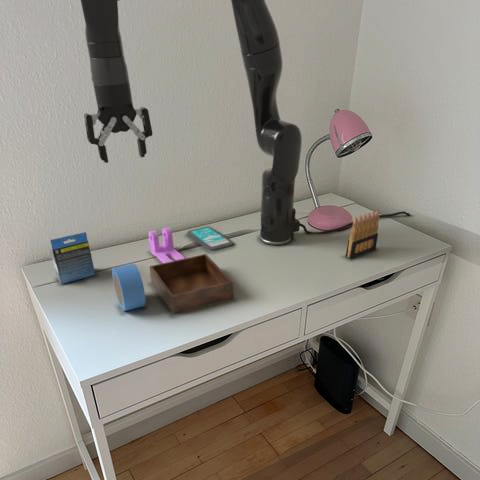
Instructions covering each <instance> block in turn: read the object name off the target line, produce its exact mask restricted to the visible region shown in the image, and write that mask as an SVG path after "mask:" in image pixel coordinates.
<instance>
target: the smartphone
mask: <svg viewBox="0 0 480 480" xmlns="http://www.w3.org/2000/svg"><path fill="white" fill-rule="evenodd" d="M186 235H187V236H188V237H189V238H190V239H192V240H193V241H195V242H196V243H197V244H199V245H200V246H202V247H204V248H205V249H206V250H208V251H210V252H215V251H219V250H223V249H226V248H229V247H233V246H234V242H233V241H232V240H231V239H229V238H228V237H227V236H225V235H224V234H222V233H220V232H219V231H218V230H216V229H215V228H213V227H211V226H203V227H199V228H194V229H191V230H188V231H187V234H186Z"/></svg>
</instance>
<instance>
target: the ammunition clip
mask: <svg viewBox="0 0 480 480" xmlns="http://www.w3.org/2000/svg"><path fill="white" fill-rule="evenodd" d="M379 215H380V209H377V210H376V212H375V210H373V211H372V213H371V212H368V213H367V214H366V213H364V215H363V216H362V215H361V214H360V215H359V217H357V216H355V217H354V218H353V221H352V222H353V225H351V226H352V227H351V229H350V236H349V239H348V240H347V246H346V251H345V258H347V259H349V260H353V259H356V258H358V257H361V256H363V255H365V254H368V253H370V252H374V251H376V250H377V244H378V237H379V233H378V232H379V231H378V230H379V224H380V223H379V221H380V217H379ZM366 217H367V218H366ZM357 220H358V222H357Z"/></svg>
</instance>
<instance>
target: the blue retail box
mask: <svg viewBox="0 0 480 480" xmlns="http://www.w3.org/2000/svg"><path fill="white" fill-rule="evenodd" d="M69 240H70V242H68V241H69ZM72 240H74V241H72ZM65 242H66V243H65ZM89 244H90V243H89V240H88V235H87V232H86V231H84V232H80V233H75V234H70V235H67V236H63V237H57V238H52V239H50V245H51V248H52V249H50V255H51V259H52V263H53V267H54V270H55V275H56V278H57V280H58V282H59V283H60V284H61V285H65V284H68V283H71V282H75V281H78V280H81V279H85V278H87V277H90V276H94V275H96V272H95V267H94V261H93V258H92V253H91V248H90V245H89Z"/></svg>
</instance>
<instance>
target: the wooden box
mask: <svg viewBox="0 0 480 480" xmlns="http://www.w3.org/2000/svg"><path fill="white" fill-rule="evenodd" d="M184 258H185V259H181V260H172V261H171V262H167V263H163V262H162V263H159V264H153V265H149V274H150V282H151V284H152V285H153V287H154V288H155V289H156V291H157V293H158V294H159V296H160V297H161V298H162V300H163V302H164V303H165V304H166V306H168V309H169V310H170V311H171V313H172V314H173V315H176V314H179V313H183V312H186V311H191V310H194V309H199V308H202V307H205V306H209V305H213V304H218V303H221V302H225V301H229V300H231V299H234V281H233V280H232V279H231V278H230V277H229V276H228V275H227V274H226V273H225V272H224V271H223V269H221V267H219V266H218V265H217V263H215V262H214V260H212V259H211V258H210V256H209V255H208V254H207V253H203V254H199V255H195V256H190V257H184Z"/></svg>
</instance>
